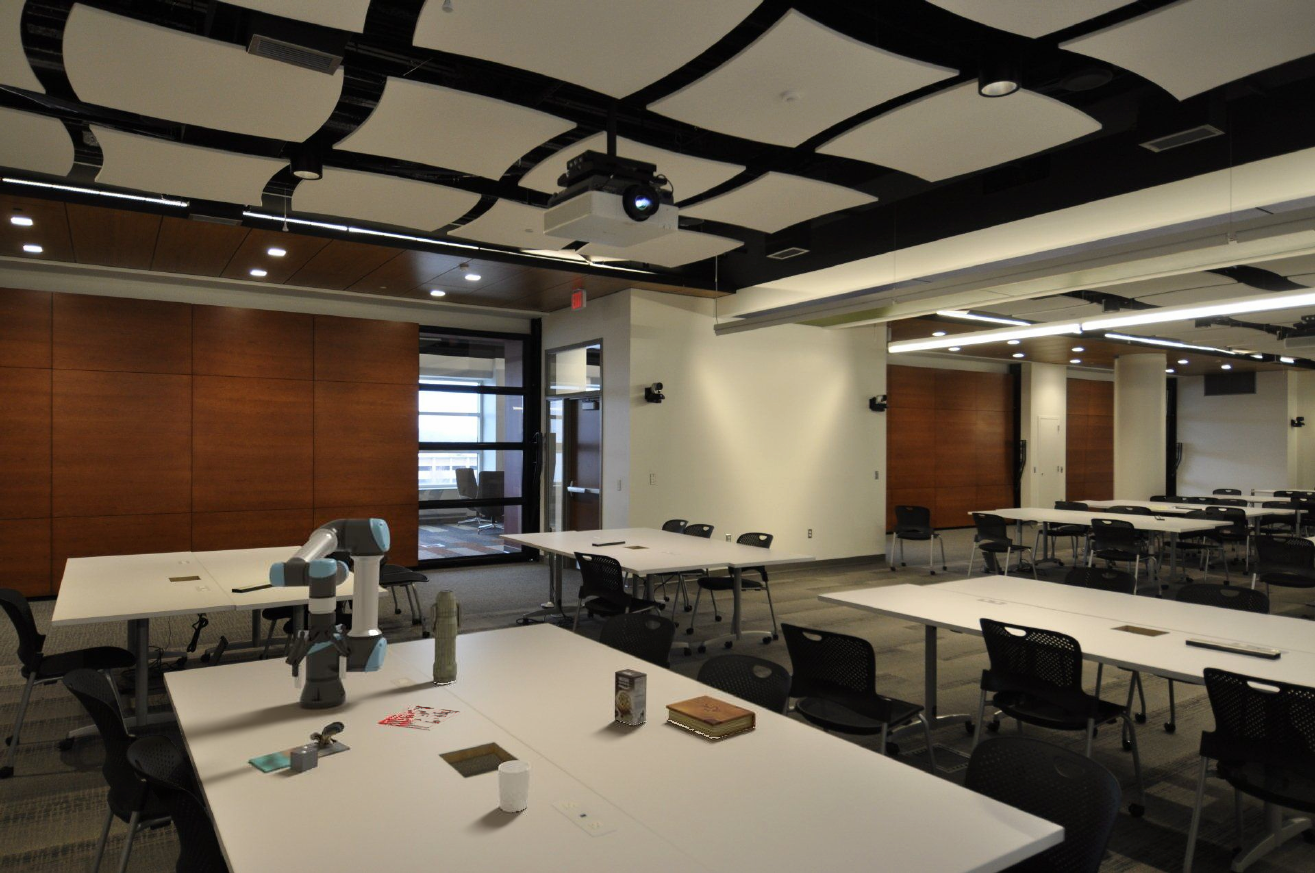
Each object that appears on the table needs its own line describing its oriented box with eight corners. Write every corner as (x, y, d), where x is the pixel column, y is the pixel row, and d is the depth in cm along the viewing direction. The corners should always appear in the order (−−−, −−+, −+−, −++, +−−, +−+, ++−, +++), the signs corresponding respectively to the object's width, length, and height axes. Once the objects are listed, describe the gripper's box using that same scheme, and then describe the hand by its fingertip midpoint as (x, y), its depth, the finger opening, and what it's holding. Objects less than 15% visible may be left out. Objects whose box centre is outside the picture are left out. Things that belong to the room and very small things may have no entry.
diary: (755, 729, 256) (755, 711, 256) (713, 742, 244) (713, 723, 244) (707, 710, 274) (707, 694, 274) (665, 722, 262) (666, 704, 262)
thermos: (464, 681, 307) (465, 590, 308) (435, 687, 299) (436, 594, 300) (453, 676, 314) (455, 588, 315) (425, 681, 306) (426, 591, 307)
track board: (330, 739, 243) (330, 737, 243) (349, 749, 235) (350, 747, 235) (248, 761, 225) (248, 759, 225) (266, 772, 217) (266, 770, 217)
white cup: (499, 800, 200) (500, 760, 200) (531, 799, 201) (531, 759, 201) (496, 814, 192) (496, 772, 192) (528, 813, 193) (529, 771, 193)
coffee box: (613, 720, 262) (614, 671, 262) (627, 716, 266) (627, 667, 267) (633, 727, 256) (633, 676, 256) (647, 722, 260) (647, 672, 261)
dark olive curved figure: (336, 747, 231) (350, 731, 240) (322, 728, 231) (336, 712, 240) (316, 759, 233) (331, 743, 241) (302, 740, 232) (317, 724, 241)
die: (305, 763, 224) (305, 745, 224) (317, 766, 222) (318, 748, 222) (290, 769, 219) (290, 750, 219) (302, 772, 217) (302, 753, 217)
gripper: (355, 604, 248) (354, 672, 248) (274, 615, 230) (272, 689, 229) (367, 607, 244) (366, 676, 243) (285, 618, 225) (283, 694, 224)
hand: (320, 682), depth 236 cm, fingers open, 13 cm apart
